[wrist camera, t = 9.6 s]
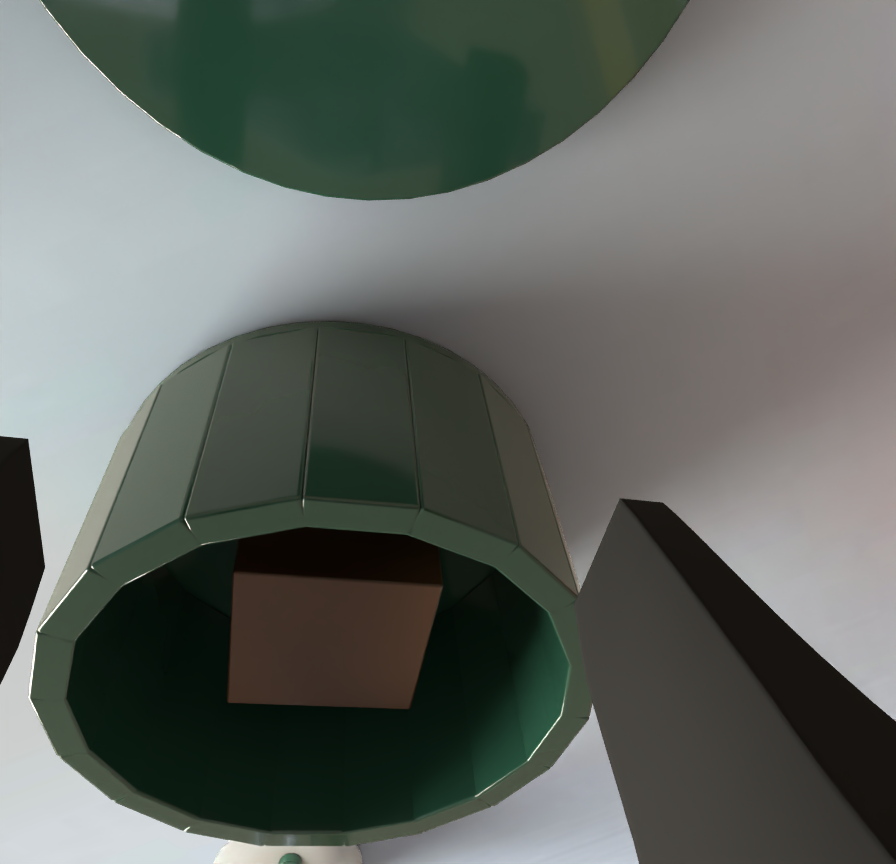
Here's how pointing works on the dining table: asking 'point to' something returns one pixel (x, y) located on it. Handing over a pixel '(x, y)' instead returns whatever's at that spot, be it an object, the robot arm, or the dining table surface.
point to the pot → (319, 506)
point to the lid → (369, 81)
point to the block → (331, 617)
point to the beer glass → (287, 854)
